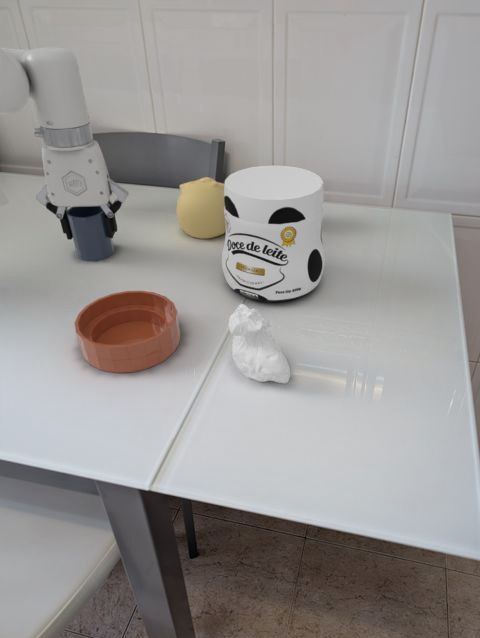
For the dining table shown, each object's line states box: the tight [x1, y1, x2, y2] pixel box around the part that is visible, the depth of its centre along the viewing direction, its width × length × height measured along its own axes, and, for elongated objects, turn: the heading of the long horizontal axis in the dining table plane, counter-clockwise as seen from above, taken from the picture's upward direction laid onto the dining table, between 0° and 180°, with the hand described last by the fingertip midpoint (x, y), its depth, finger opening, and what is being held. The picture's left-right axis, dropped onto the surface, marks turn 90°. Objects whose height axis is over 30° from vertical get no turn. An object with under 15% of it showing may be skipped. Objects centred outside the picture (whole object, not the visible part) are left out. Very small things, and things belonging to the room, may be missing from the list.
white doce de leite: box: [221, 164, 326, 303], centre depth 81 cm, size 17×17×18 cm
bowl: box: [74, 290, 181, 374], centre depth 71 cm, size 14×14×5 cm
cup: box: [66, 206, 115, 262], centre depth 92 cm, size 7×7×9 cm
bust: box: [228, 303, 291, 385], centre depth 65 cm, size 12×8×11 cm
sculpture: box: [175, 176, 226, 240], centre depth 100 cm, size 12×12×11 cm
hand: (91, 235), depth 92 cm, fingers closed on cup, 6 cm apart
